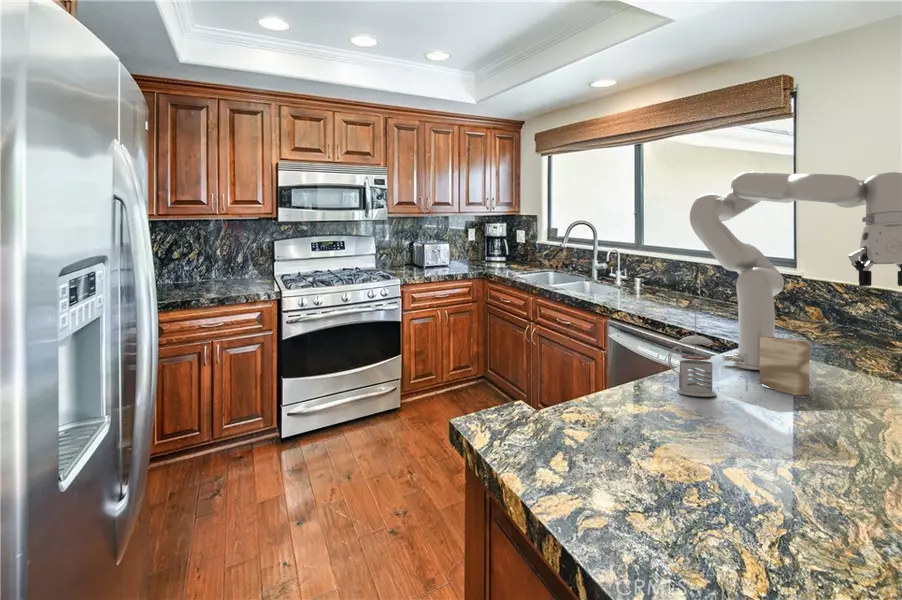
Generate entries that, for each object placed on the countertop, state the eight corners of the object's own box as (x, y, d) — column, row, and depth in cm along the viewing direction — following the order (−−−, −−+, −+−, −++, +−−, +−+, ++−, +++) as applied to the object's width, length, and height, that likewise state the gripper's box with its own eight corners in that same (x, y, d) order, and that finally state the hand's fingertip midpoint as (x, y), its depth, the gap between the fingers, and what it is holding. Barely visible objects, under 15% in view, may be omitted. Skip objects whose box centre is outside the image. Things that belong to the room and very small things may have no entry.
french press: (722, 397, 117) (723, 299, 117) (673, 395, 120) (673, 299, 119) (709, 389, 127) (709, 299, 127) (664, 388, 129) (664, 299, 129)
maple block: (795, 395, 119) (795, 341, 119) (759, 386, 131) (759, 337, 131) (809, 394, 120) (809, 341, 119) (772, 385, 131) (772, 336, 131)
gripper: (861, 219, 118) (861, 285, 118) (933, 218, 117) (933, 285, 117) (839, 223, 126) (839, 286, 126) (906, 222, 124) (906, 286, 124)
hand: (884, 285), depth 121 cm, fingers open, 9 cm apart
